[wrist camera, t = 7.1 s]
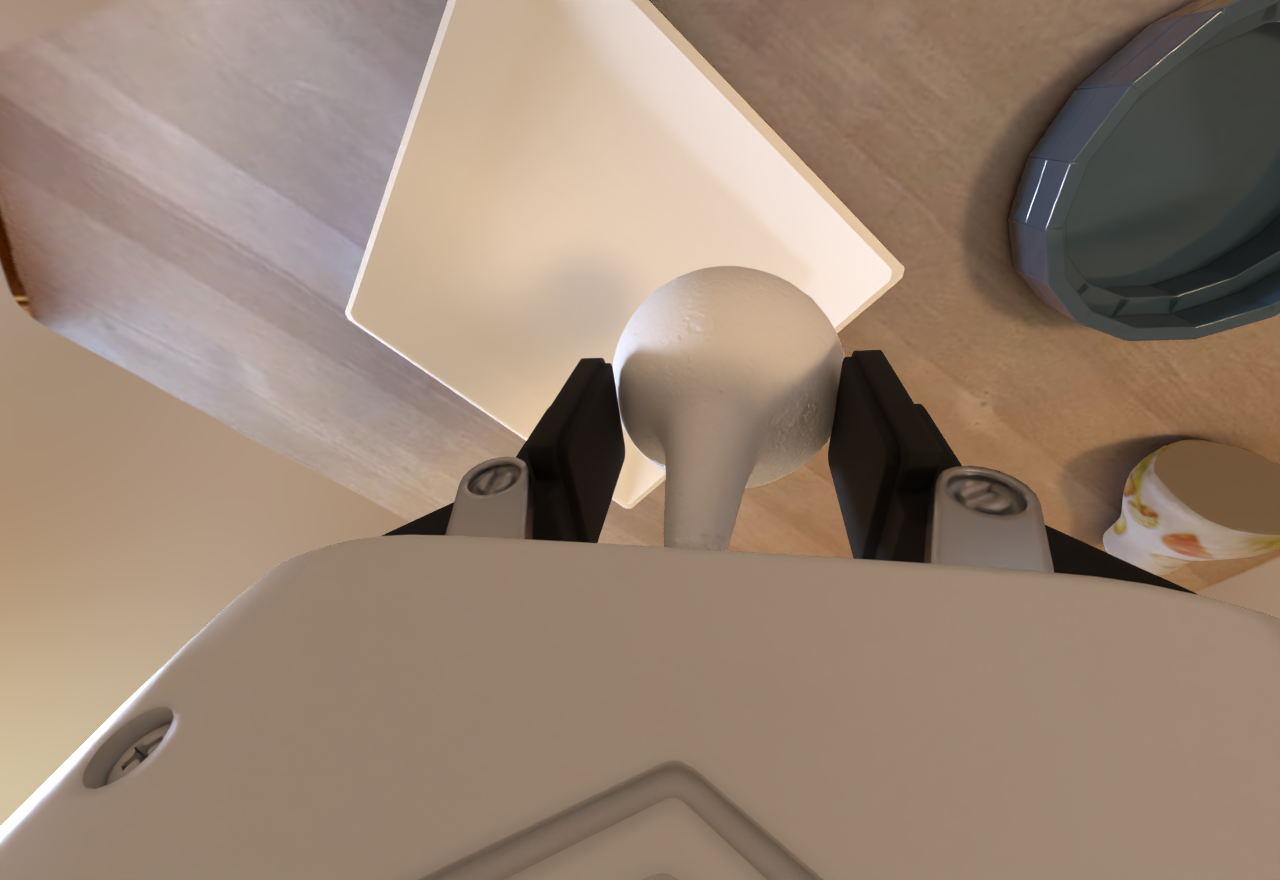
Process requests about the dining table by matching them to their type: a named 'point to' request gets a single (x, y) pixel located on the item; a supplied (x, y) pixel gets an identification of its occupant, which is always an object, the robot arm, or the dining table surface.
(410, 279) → the plate
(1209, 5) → the bowl
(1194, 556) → the mug
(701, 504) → the garlic bulb
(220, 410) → the dining table surface
